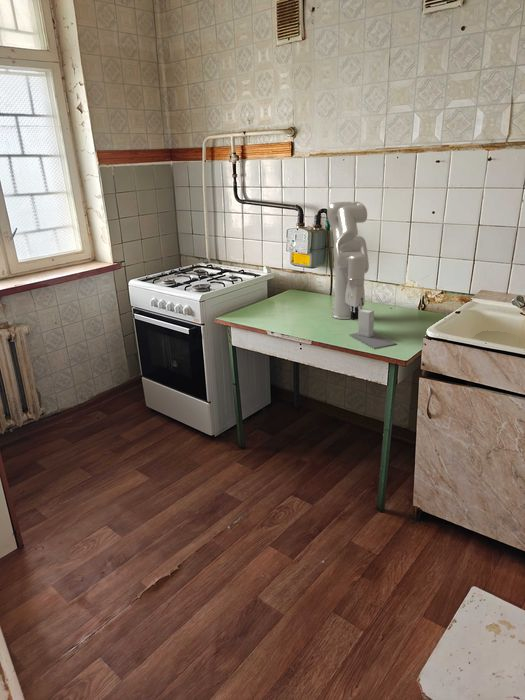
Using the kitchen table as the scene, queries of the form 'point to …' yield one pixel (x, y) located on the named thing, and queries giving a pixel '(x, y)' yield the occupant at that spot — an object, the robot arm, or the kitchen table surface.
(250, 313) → the kitchen table surface
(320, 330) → the kitchen table surface
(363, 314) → the skincare box
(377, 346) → the mat
